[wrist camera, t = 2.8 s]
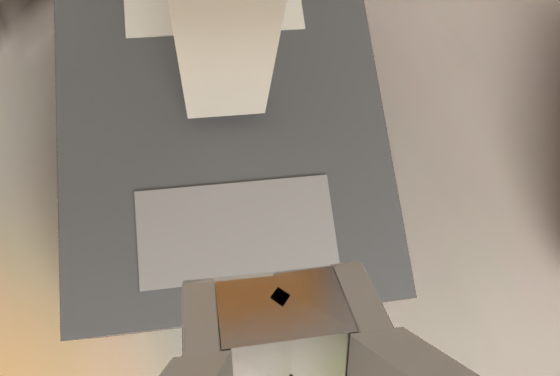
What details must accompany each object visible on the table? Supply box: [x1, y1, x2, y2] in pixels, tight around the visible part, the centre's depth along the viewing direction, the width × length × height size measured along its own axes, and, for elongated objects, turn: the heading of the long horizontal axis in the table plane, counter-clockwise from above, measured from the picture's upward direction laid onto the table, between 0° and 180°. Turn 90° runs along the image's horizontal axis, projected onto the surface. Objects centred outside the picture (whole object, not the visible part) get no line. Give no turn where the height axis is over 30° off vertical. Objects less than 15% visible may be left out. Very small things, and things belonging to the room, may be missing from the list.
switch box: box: [54, 0, 417, 341], centre depth 26 cm, size 18×14×6 cm
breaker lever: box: [168, 0, 287, 119], centre depth 16 cm, size 2×4×13 cm, turn 97°
